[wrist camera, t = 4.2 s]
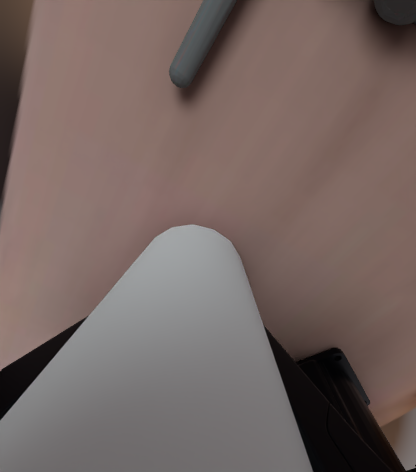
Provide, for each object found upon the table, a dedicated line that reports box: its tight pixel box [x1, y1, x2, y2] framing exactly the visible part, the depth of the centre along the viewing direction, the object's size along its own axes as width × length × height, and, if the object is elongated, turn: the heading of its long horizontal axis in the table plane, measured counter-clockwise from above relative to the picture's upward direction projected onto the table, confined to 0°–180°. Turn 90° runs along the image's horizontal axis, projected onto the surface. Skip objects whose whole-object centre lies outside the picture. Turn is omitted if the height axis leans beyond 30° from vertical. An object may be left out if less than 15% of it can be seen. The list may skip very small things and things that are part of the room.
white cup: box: [0, 224, 313, 472], centre depth 8 cm, size 7×7×10 cm
